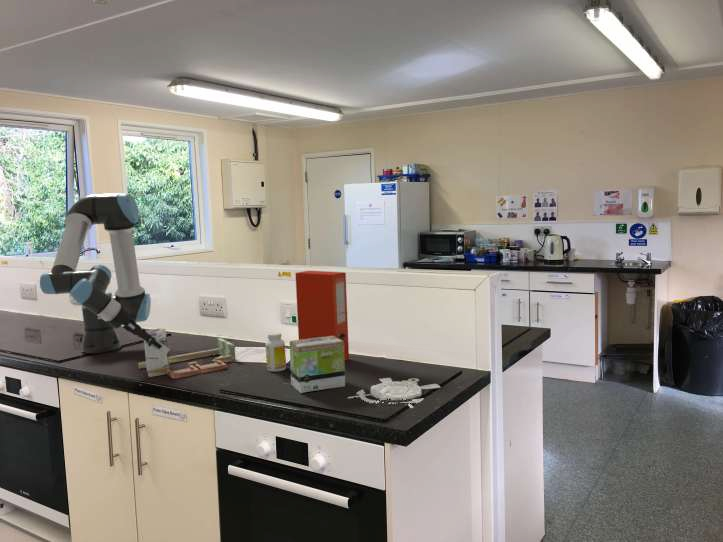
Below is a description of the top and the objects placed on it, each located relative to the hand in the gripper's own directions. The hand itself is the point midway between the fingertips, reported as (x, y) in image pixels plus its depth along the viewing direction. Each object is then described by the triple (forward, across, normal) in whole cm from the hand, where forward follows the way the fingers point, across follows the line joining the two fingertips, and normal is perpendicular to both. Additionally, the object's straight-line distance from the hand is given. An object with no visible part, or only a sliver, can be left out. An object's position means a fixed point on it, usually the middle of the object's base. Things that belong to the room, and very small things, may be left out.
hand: (162, 348), depth 216 cm
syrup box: (+4, 0, -7) cm, 8 cm away
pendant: (+40, +75, +28) cm, 90 cm away
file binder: (+41, +28, +31) cm, 58 cm away
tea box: (+29, +55, +18) cm, 64 cm away
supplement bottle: (+27, +29, +17) cm, 43 cm away
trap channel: (+11, +4, +1) cm, 12 cm away
